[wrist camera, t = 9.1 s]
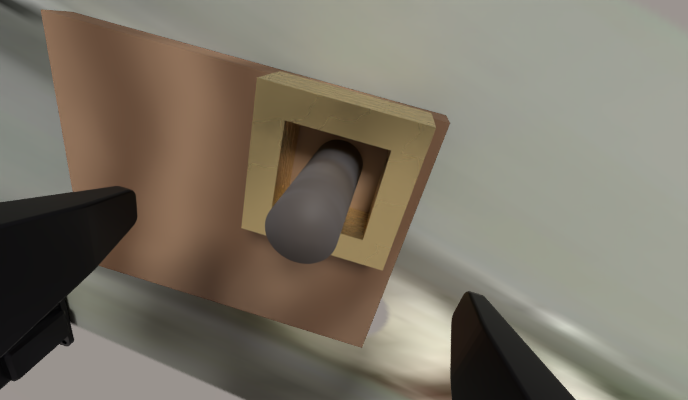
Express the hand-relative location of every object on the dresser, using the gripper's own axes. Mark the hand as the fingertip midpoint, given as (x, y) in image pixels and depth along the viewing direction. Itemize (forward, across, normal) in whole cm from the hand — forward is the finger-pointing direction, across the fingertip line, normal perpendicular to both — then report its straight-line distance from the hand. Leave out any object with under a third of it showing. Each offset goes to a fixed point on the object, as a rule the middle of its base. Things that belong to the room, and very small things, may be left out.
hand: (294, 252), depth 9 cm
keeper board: (+8, +5, +4) cm, 11 cm away
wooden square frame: (+7, 0, 0) cm, 7 cm away
